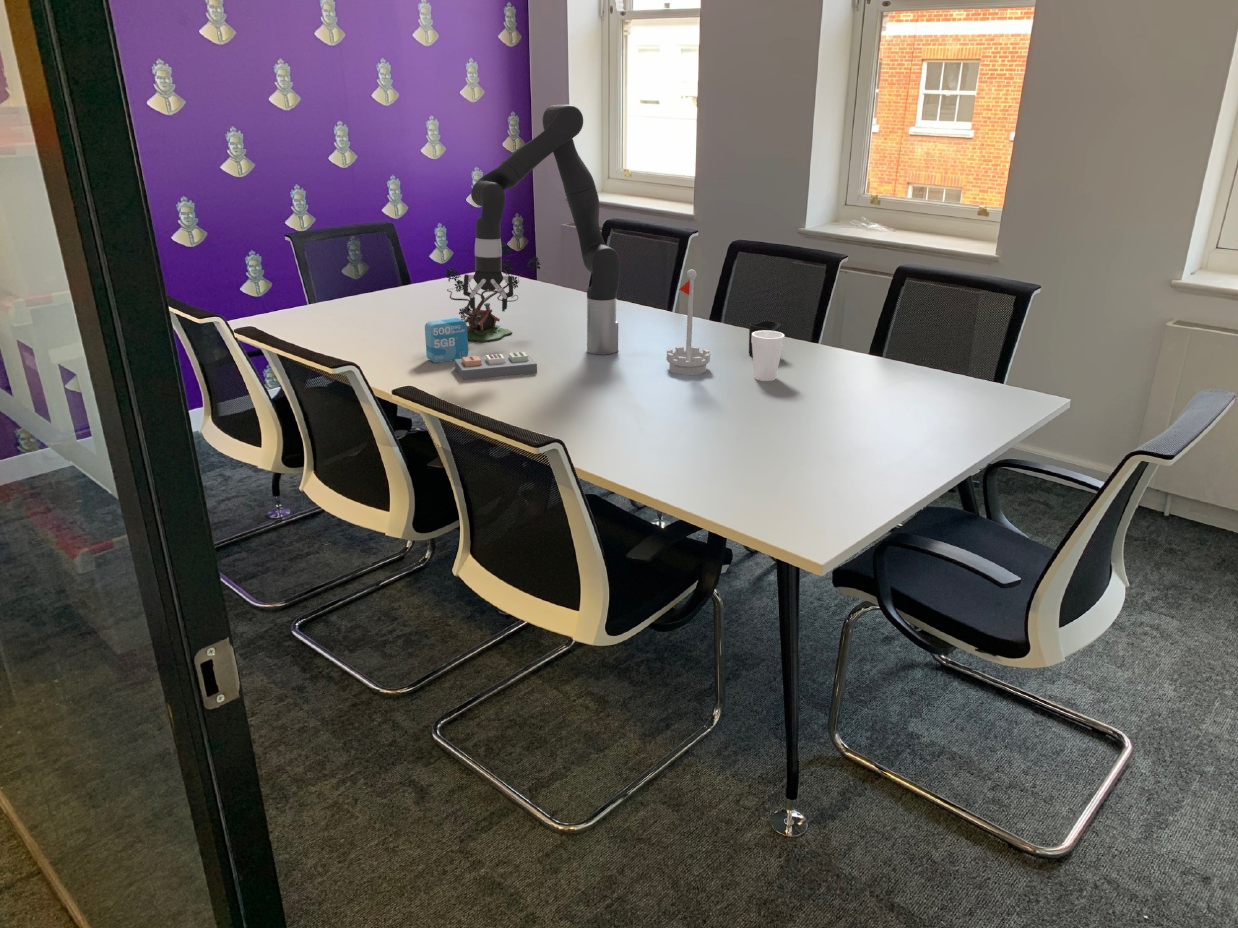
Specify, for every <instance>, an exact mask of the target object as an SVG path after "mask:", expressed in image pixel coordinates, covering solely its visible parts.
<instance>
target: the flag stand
mask: <svg viewBox="0 0 1238 928" xmlns="http://www.w3.org/2000/svg"><path fill="white" fill-rule="evenodd" d="M697 276H698V274H697V271H696V270H695V269H692V268H691V269H689V270H687V272H686V277H687V279H688V281H686V282H685V283H684V284H683V285H682V286H681V287H680V288H679V289H678V290H679V291H680V292H682V293H684V294H686V295H687V319H686V345H685V346H676V347H675V350H673V348H669V349H667V350H666V361H667V362H668V363H669V371H670V372H672V373H673V374H679V375H685V376H686V375H687V376H693V375H694V376H695V375H701V374H704V373H705V372H706V371H707V365H708V364H709V363H710V361H711V353H710V350H709V349H702V351H701V350H700V347H698V346H692V338H693V337H692V335H693V315H694V311H693V309H694V292H695V291H694V290H695V287H694V286H695V278H697ZM684 347H685V348H684Z"/></svg>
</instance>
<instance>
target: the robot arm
mask: <svg viewBox="0 0 1238 928" xmlns="http://www.w3.org/2000/svg"><path fill="white" fill-rule="evenodd" d="M542 127H543V131H542V132H541V133H540V134H538V135H537V136H536V137H534V138H533V139H531V140H530V141H527V142H526V143H525V144H523V145H522V146H520V147H518V148H517V149H515V150H514V151H513V152H512V153H511V154H510V155H508V156H507V157H506V158H505V159H504V160H503V161H502V162H501V163H500V164H499V165H498V166H497V167H495V169H492V170H491V171H490V172H488V173H486V174H484V175H483V176H482V177H480V178H479V179H478V180H477V181H475V183H474V185H473V186H472V187H471V192H470V196H471V200H472V202H473V203H474V204H476V206H477V205H478V206H479V207H482V210H481V216H478V217H476V220H475V241H474V271H475V272H474V274H468V273H464V275H463V282H464V289H463V290H462V291H463V293H462V295H464V296H465V297H468V298H469V300H470V306H469V308H470V309H471V310H472V311H475V307H476V295H477V294H476V293H479V291H480V290H482V291H485V290H496V291H498V292H499V293H498V294H499V295H500V294H501V296H500V297H501V300H502V301H501V306H502V307H501V311H502V312H503V313H504V312H505V311H507V308H508V302H507V301H508V299H509V298H512V297H513V296H514V288H513V287H514V286H513V278H512V276H513V275H512V274H509V276H508V275H503V273H502V272H503V271H502V264H503V263H502V261H503V259H502V256H503V254H502V252H503V248H502V246H503V245H502V246H501V243H502V240H501V239H502V236H501V234H502V233H501V232H502V229H501V228H502V227H501V223H502V220H503V215H504V209H505V206H506V194H505V190H507V189H511V188H514V187H515V186H518V185H519V183H520V182H521V181H523V180H524V178H526V176H527V175H529V174H530V172H532V171H533V169H535V168H536V167H537V166H538V165H539V164H540V163H541V162H543V161H544V160H545V159H546V158H547V157H548V156H550V155H551V154H553V156H554V159H555V163H556V165H557V169H558V172H559V175H560V179H561V182H562V185H563V189H564V193H565V197H566V201H567V204H568V207H569V209H570V213H571V215H572V216H571V217H572V220H573V223H574V227H575V229H576V232H577V237H578V239H579V240H578V241H579V245H580V246H579V247H580V252H581V259H582V261H583V266H585V269H586V270H588V271H589V272H590V273H591V285H590V286H589V287H588V288H587V290H586V351H587V352H588V353H590V354H593V355H610V354H614V353H618V352H619V322H618V321H617V295H618V290H619V288H620V276H621V274H620V273H621V261H620V260H621V259H620V256H619V254H618V252H617V250H615V249H614V248H612V247H610V246H607V245H606V243H605V240H604V238H603V235H602V231H601V229H600V199H599V194H598V191H597V185H596V184H595V180H594V178H593V175H592V174H591V172H590V171H589V168H588V167H587V165H586V164H585V162H584V161H583V160H582V158H581V157H580V155H579V152H578V151H577V148H576V145H575V142H574V139H575V137H577V135H579V133H580V132H581V131H582V129H583V127H584V116H583V113H582V111H581V110H580V109H579V108H578V107H576V106H575V105H573V104H572V105H571V104H553V105H549V106H547V108H546V109H545V110H544V111H543V115H542ZM573 138H574V139H573ZM472 280H473V281H474V282H475V284H476V285H475V287H474V288H472V291H471V290H469V283H471V282H472ZM503 281H504V282H505V281H506V282H505V283H506V284H507V283H508V292H506V291H505V289H503V286H502V285H501V283H502V282H503ZM468 282H469V283H468ZM472 311H471V312H472Z"/></svg>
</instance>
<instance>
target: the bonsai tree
mask: <svg viewBox="0 0 1238 928" xmlns="http://www.w3.org/2000/svg"><path fill="white" fill-rule="evenodd" d="M501 246H502V255H505V256H506V257H510V256H512V254H510V253H512V252H513V250H512V248H511V247H510V245H508V244H507V243H506V242H505V241H504V242H503V241H501ZM509 254H510V255H509ZM514 255H516V253H515V254H513V256H514ZM504 260H505V258H503V259H502V272H503V273H502V275H503V274H505V276H509V275H510V273H511V274H513V273H514V270H513V269H514V267H513V264H512V262H511V260H510V259H506V261H504ZM527 262H528V263H527V265H526V268H530V269H529V270H527V271H533V272H534V271H536V270H540V269H541V267H540V265H541V263H540V259H539V257H537V256H536V255H534V256H533V257H532V258H529V259H528V261H527ZM523 272H525V270H523V271H522V272H521V273H519V275H521V274H522V273H523ZM445 277H446V278H447V279H448V281H447V282H449V283H450V281H451V280H454V282H455V283H454V284H453V285H454V286H455V287H453V288H452V291H451V290H450V288H448V289H446V291H447V292H449V293H450V294H449V299H450V300H452V301H463V302H465V301H466V302H468V303H467V305H466V306H463V307H462V308H459V313H458V315H460V319H461V320H463V321H465V322H466V324H468V325H467V337H468V341H470V342H471V341H472V342H473V341H474V342H482V343H487V342H493V341H498V340H500V339H502V338H503V337H504V336H509V335H510V336H511V335H512V334H513V331H511V330H509V329H507V328H501V325H498V324H497V322H500V320H501V319H500V318H498V317H497V316H495V315H494V314H493V313H492V312H493V309H492V308H491V307H490V306H491V302H490V303H489V302H487V301H488V300H489V299H491V298H492V297H493V296H495V295H497V294H499V295H498V296H497V297H496V298H497V299H496V300H498V301H500V302H502V298H501V299H500V297H502V296H501V294H500V293H499V292H498V291H497V289H495V290H482V292H481V293H479V292H477V293H476V295H478V296H479V297H480V299H481V300H480V302H479V303H478V304H477V306H475V311H472V309H471V308H470V299H468V298H454V297H452V295H453V290H454V289H455V292H457V293H458V292H461V291H463V289H464V280H461V279H459V278H461V277H462V275H460V273H458V271H457V269H456V268H455V267H453V266H452V267H448V268H446V271H445ZM519 277H520V276H518V277H517V276H514V275H512V278H513V290H515V289H516V288H519V286H518V285H519V284H520V279H519ZM504 282H505V283H506V281H505V280H504ZM507 287H509V285H508V283H506V285H504V286H502V288H503V290H505V289H506V288H507ZM468 288H469V289H470V292H472V290H473V288H471V284H470V282H468ZM488 292H489V293H490V292H491V294H489V295H488V296H486V297H485V295H484V294H485V293H488ZM492 292H493V293H492ZM515 296H516V297H517V298H516V299H514V300H507V303H508V302H509V303H510V302H517V301H518V299H519V295H517V294H515V295H514V294H513V296H512V297H511V299H513V298H514V297H515ZM486 302H487V303H486ZM483 305H484V308H485V309H482V307H483ZM496 324H497V325H496Z"/></svg>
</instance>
